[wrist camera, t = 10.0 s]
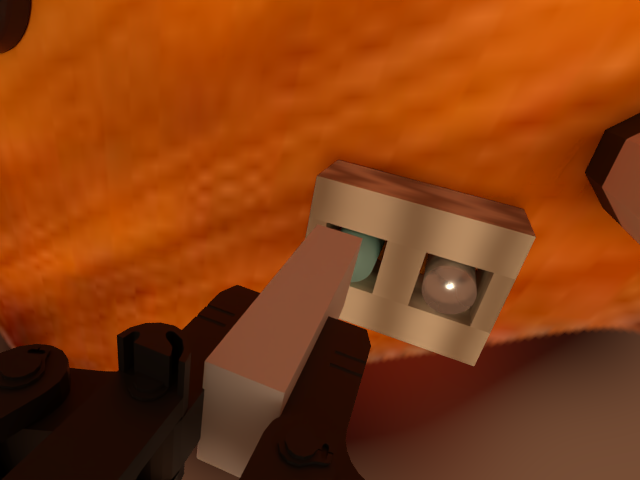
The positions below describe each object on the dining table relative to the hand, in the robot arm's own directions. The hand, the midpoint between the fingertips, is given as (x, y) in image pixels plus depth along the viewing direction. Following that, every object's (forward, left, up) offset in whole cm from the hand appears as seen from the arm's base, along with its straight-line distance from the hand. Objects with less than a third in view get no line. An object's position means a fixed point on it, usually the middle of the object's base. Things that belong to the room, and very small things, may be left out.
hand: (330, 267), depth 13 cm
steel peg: (+6, -9, -23) cm, 25 cm away
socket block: (+2, -9, -23) cm, 25 cm away
